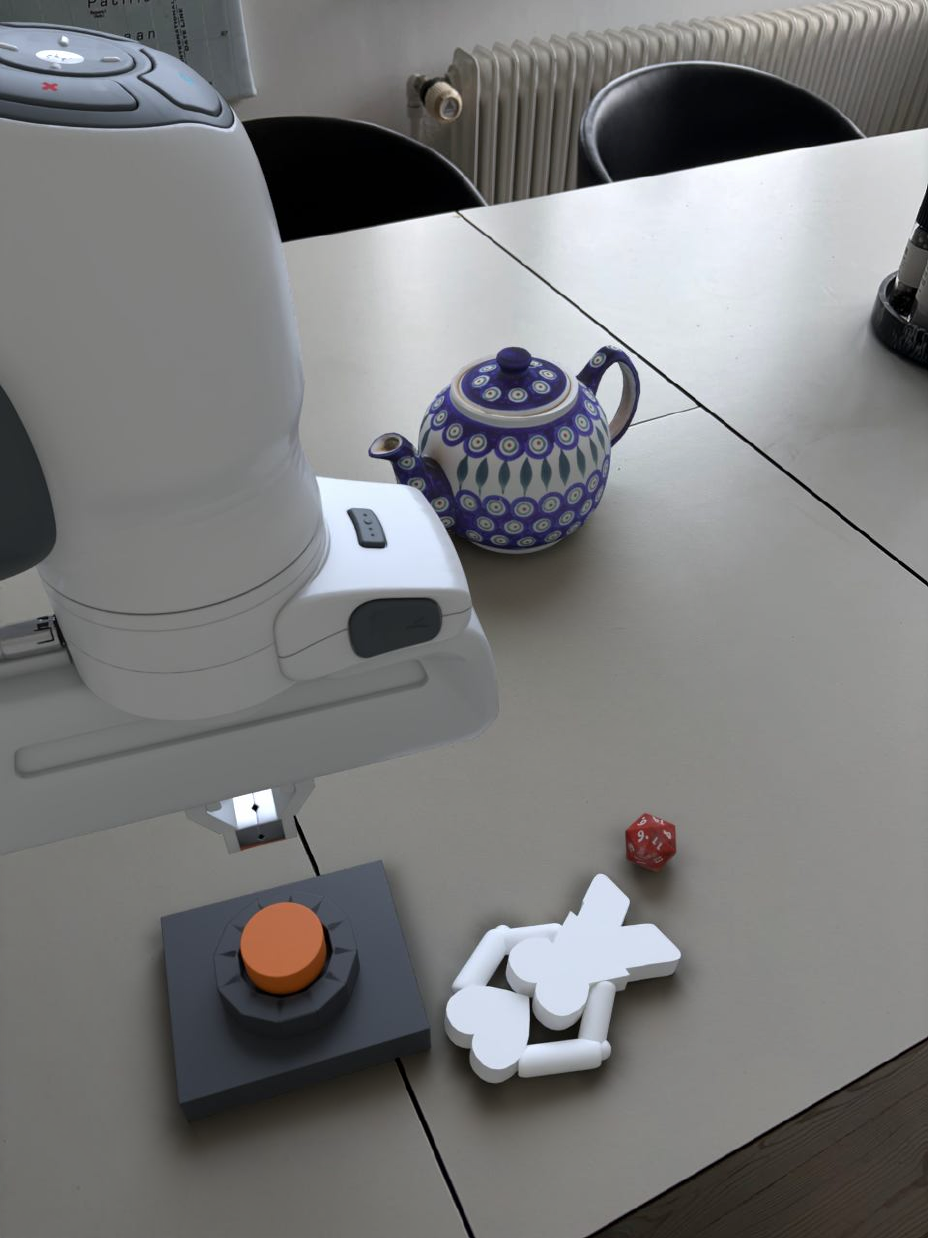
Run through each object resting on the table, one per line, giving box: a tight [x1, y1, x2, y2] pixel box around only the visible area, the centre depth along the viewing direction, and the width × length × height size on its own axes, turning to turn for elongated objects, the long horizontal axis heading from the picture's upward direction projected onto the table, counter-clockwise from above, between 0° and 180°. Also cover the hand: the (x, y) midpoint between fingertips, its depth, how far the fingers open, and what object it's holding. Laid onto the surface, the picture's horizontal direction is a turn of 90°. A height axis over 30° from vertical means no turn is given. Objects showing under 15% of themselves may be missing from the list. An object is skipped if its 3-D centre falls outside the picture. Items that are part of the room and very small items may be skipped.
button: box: [240, 902, 326, 994], centre depth 49 cm, size 4×4×2 cm
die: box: [624, 812, 677, 873], centre depth 57 cm, size 3×3×3 cm
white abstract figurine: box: [443, 873, 682, 1084], centre depth 52 cm, size 9×12×2 cm
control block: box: [160, 859, 432, 1123], centre depth 51 cm, size 12×10×4 cm
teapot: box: [367, 345, 641, 555], centre depth 77 cm, size 25×15×15 cm, turn 122°
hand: (261, 832), depth 43 cm, fingers closed
